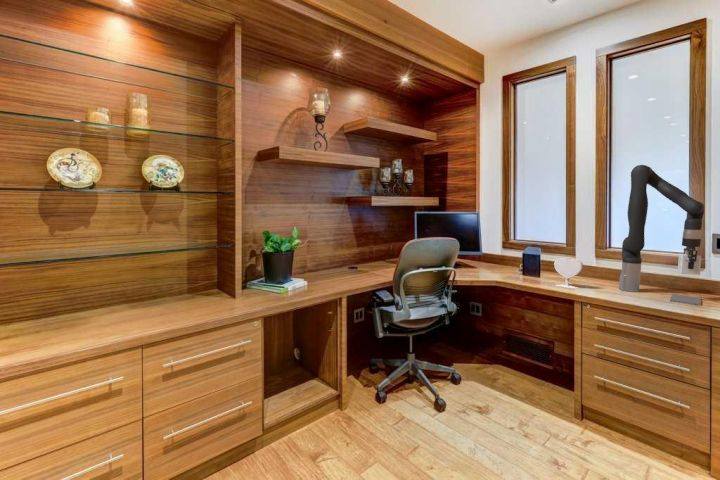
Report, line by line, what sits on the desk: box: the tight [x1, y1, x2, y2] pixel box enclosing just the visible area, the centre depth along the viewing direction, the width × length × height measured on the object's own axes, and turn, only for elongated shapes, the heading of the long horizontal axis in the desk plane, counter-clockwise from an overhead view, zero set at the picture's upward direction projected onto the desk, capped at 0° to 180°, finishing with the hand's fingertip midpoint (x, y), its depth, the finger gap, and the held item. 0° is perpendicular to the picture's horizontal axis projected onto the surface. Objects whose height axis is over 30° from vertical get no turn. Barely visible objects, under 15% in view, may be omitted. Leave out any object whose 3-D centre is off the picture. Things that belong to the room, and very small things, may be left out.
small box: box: [677, 253, 702, 276], centre depth 195 cm, size 8×6×10 cm
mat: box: [669, 293, 702, 306], centre depth 194 cm, size 18×12×1 cm, turn 136°
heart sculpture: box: [553, 257, 584, 290], centre depth 226 cm, size 16×5×18 cm, turn 42°
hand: (688, 267), depth 195 cm, fingers closed on small box, 6 cm apart
